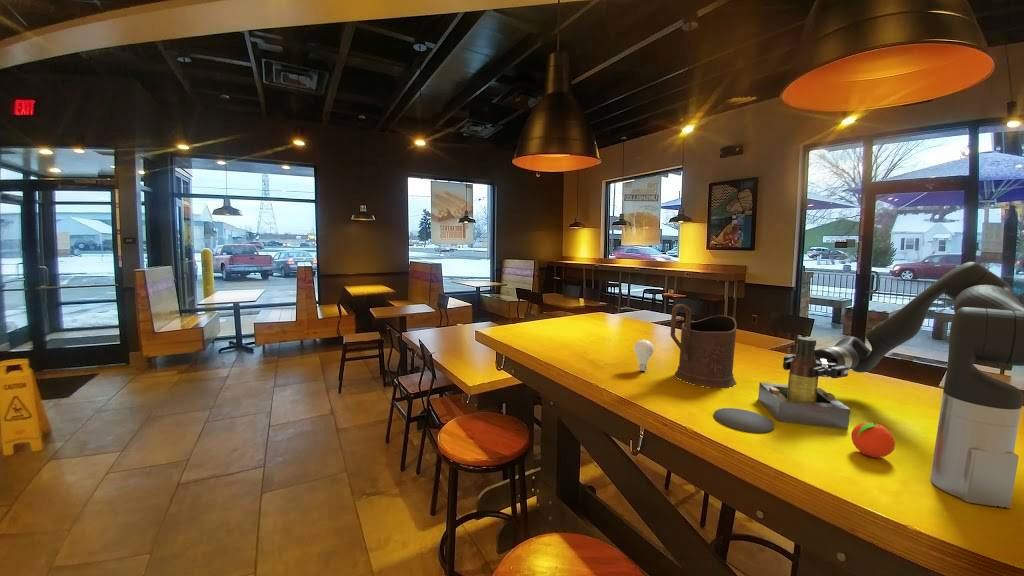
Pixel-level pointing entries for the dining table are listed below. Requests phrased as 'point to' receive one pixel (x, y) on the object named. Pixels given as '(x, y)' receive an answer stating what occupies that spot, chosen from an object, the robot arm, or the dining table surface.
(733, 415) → the coaster
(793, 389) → the sauce bottle
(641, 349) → the lightbulb
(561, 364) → the dining table surface
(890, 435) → the red tomato
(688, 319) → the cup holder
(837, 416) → the square ashtray
